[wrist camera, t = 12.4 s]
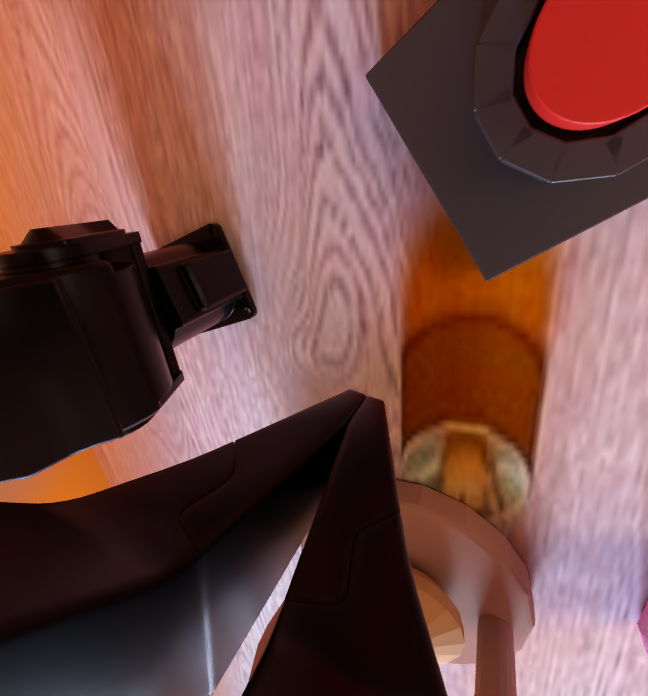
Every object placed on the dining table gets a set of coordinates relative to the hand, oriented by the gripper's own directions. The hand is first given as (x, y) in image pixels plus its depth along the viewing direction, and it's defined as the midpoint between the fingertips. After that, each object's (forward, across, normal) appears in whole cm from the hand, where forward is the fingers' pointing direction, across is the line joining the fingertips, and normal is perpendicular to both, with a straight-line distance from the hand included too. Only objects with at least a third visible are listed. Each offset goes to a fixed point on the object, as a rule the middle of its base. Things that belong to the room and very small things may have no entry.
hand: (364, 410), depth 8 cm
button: (+9, -3, -9) cm, 13 cm away
